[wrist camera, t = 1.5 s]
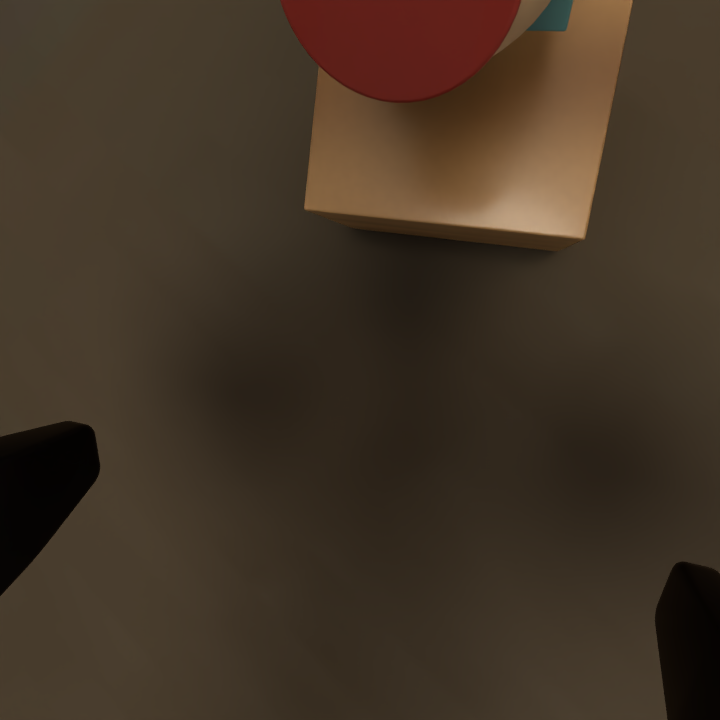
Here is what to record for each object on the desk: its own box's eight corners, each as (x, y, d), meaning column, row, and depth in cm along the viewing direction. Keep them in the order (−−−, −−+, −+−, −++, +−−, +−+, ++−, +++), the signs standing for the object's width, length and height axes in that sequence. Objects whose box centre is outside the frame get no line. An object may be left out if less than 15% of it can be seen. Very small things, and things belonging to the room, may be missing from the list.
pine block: (558, 251, 17) (585, 239, 12) (351, 228, 18) (303, 209, 13) (597, 50, 15) (643, -50, 11) (373, 44, 17) (329, -46, 12)
